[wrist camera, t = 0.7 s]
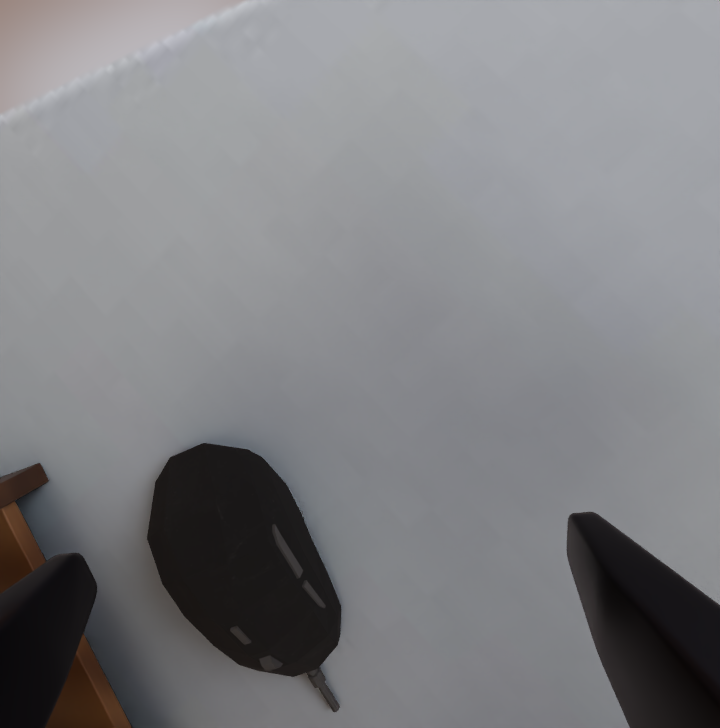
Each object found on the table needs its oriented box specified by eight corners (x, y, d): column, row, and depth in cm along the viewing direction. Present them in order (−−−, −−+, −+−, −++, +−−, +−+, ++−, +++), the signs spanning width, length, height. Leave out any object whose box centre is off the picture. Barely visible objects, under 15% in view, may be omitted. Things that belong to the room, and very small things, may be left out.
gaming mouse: (281, 721, 25) (256, 805, 21) (140, 467, 23) (84, 507, 19) (395, 687, 24) (389, 769, 20) (255, 416, 22) (220, 448, 18)
